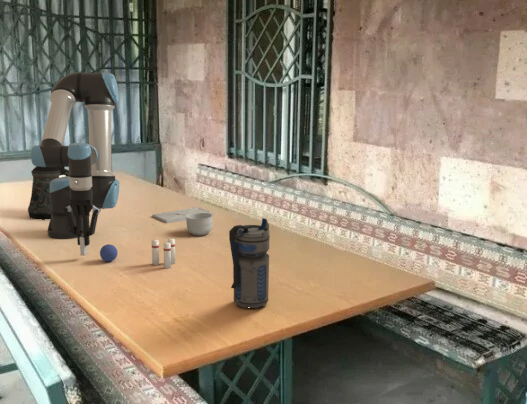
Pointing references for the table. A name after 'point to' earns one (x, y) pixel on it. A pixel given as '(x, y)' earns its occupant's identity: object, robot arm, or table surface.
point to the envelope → (178, 214)
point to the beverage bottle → (250, 264)
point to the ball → (108, 252)
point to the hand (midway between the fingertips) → (84, 254)
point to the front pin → (155, 252)
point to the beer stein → (43, 190)
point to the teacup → (199, 223)
